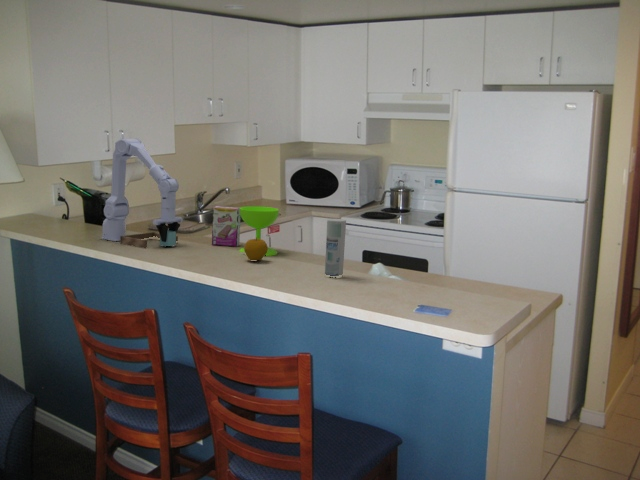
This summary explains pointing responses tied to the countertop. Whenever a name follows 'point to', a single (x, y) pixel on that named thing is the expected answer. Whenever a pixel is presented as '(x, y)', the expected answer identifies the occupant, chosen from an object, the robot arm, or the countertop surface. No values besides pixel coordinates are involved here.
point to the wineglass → (259, 221)
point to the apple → (255, 249)
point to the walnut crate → (139, 239)
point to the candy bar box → (226, 226)
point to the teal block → (169, 239)
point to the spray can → (335, 247)
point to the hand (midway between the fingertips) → (167, 241)
